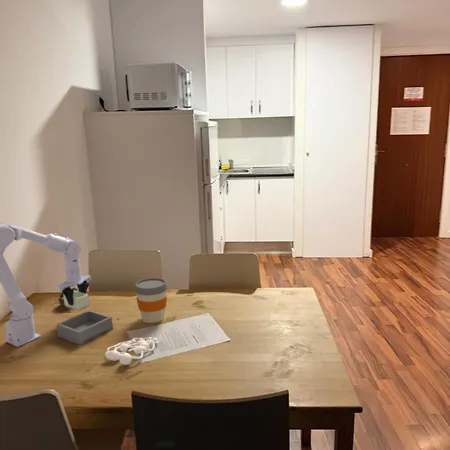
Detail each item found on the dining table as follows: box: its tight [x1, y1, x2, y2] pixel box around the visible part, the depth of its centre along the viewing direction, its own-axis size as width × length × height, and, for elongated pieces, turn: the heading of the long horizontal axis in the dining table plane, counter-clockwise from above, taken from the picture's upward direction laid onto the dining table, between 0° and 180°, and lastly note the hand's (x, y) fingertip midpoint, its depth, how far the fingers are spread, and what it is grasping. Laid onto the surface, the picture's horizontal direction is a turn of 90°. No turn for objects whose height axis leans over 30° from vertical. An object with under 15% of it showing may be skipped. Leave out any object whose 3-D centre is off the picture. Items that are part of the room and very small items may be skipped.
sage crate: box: [63, 290, 90, 312], centre depth 177 cm, size 5×9×5 cm, turn 56°
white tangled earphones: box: [104, 336, 159, 366], centre depth 154 cm, size 19×14×4 cm
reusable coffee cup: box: [134, 277, 168, 324], centre depth 178 cm, size 13×13×15 cm
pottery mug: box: [57, 287, 79, 306], centre depth 197 cm, size 12×9×8 cm
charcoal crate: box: [56, 309, 114, 346], centre depth 168 cm, size 15×13×5 cm
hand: (76, 302), depth 177 cm, fingers closed on sage crate, 5 cm apart
